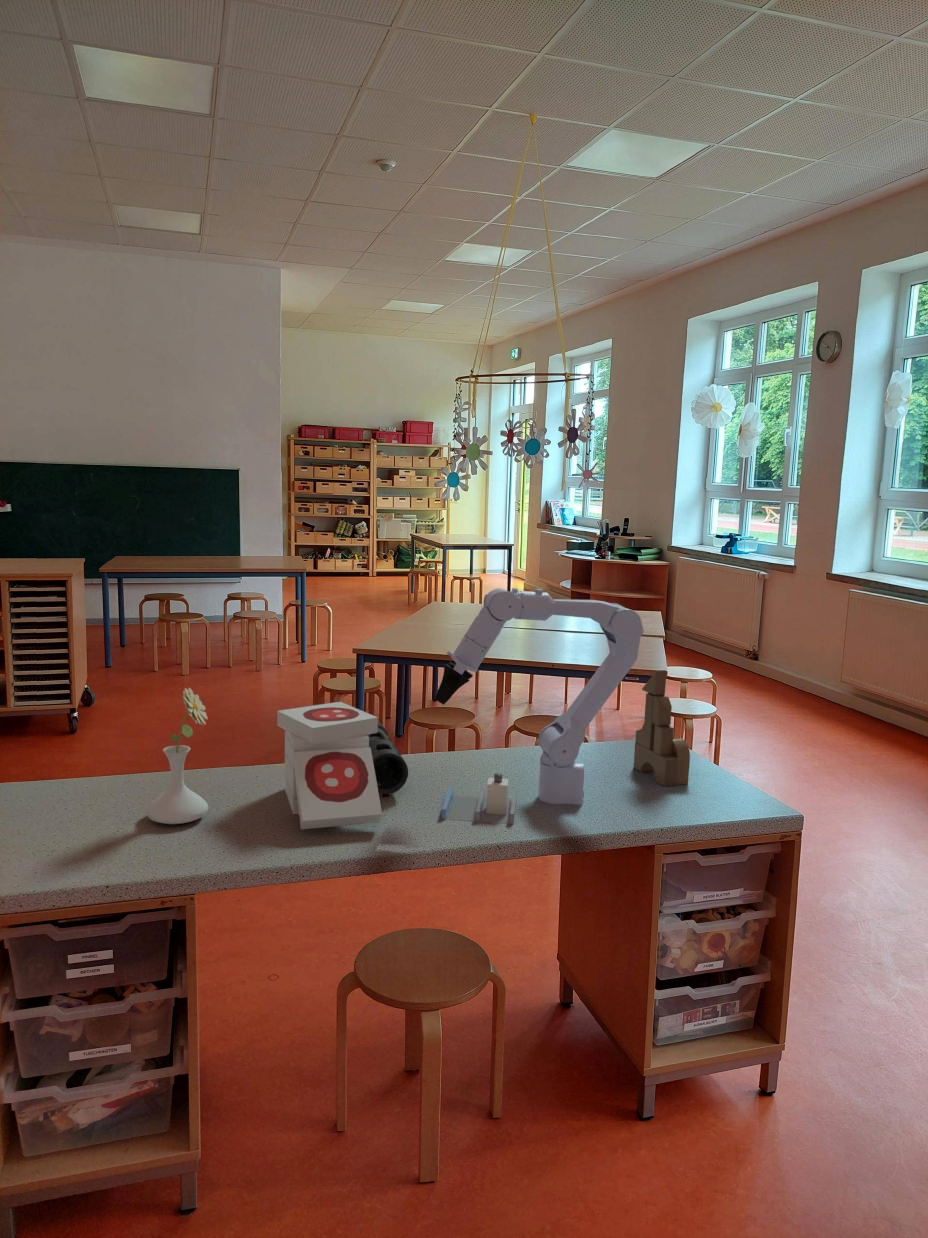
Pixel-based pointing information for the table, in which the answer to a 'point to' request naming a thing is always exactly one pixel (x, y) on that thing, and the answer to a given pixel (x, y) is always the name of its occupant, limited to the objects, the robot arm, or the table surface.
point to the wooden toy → (660, 738)
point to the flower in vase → (180, 775)
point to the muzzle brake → (387, 763)
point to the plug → (497, 795)
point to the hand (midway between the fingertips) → (441, 699)
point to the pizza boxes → (330, 765)
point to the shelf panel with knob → (475, 808)
